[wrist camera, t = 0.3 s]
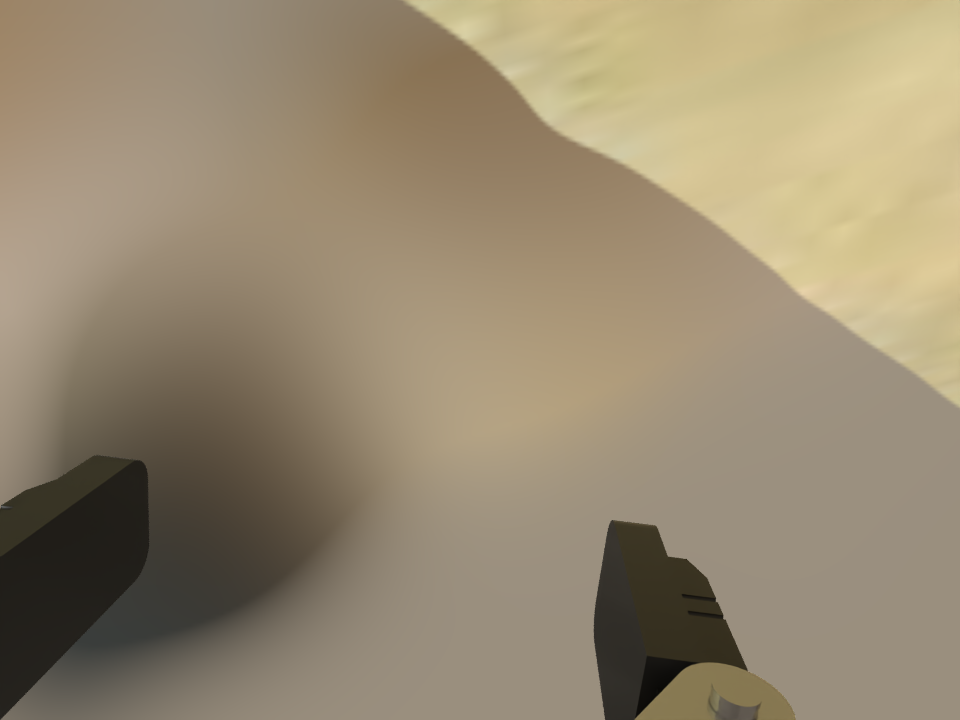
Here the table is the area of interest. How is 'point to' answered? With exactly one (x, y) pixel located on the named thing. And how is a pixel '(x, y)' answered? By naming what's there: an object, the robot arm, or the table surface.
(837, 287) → the table surface
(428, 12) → the table surface
